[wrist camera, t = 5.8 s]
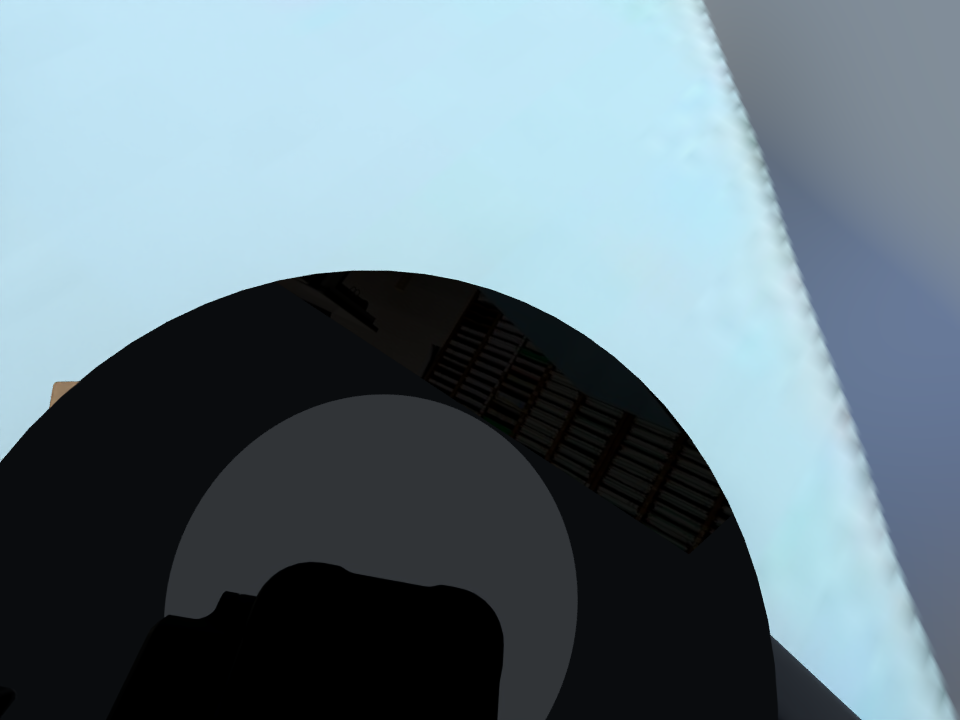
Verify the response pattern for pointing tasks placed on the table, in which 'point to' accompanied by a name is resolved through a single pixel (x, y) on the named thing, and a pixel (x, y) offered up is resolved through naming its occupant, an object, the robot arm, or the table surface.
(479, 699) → the supplement container
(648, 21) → the table surface
